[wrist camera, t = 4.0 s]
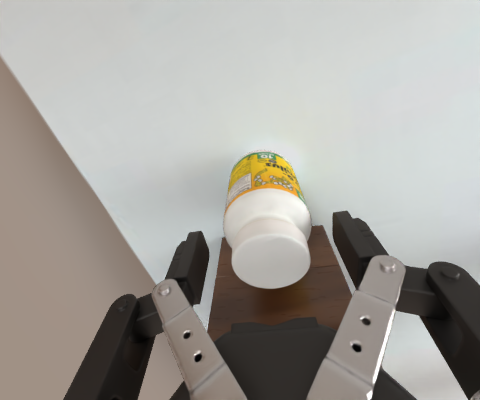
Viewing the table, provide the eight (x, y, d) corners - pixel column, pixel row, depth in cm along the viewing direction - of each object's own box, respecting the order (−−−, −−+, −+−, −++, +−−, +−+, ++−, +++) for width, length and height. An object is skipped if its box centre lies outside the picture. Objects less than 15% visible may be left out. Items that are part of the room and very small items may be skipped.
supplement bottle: (218, 178, 20) (195, 264, 12) (262, 133, 18) (271, 200, 9) (261, 214, 22) (268, 309, 14) (307, 176, 19) (347, 264, 11)
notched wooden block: (222, 237, 23) (196, 398, 12) (322, 224, 22) (393, 393, 11) (249, 323, 32) (248, 466, 21) (323, 318, 30) (364, 468, 19)
